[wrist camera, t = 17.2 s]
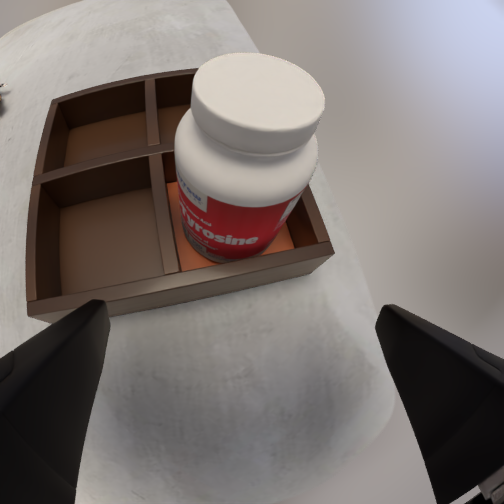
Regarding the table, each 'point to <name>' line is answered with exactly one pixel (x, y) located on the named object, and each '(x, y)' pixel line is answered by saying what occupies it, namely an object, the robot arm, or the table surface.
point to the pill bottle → (245, 152)
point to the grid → (134, 209)
